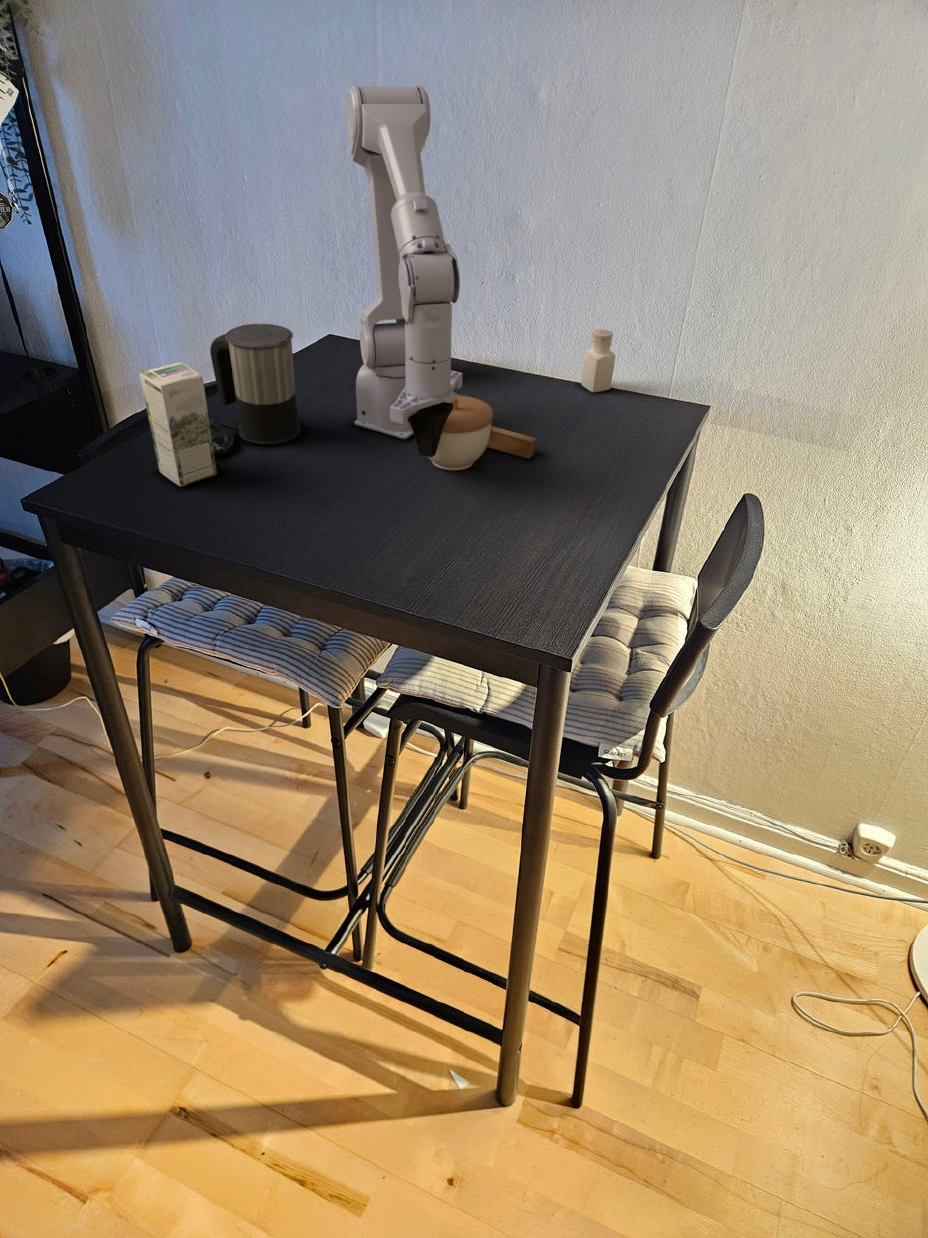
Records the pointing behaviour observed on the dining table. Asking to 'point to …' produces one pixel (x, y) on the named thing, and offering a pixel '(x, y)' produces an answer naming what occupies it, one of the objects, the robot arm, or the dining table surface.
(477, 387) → the dining table surface
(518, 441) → the rail
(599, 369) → the pepper shaker
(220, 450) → the milk frother
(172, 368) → the syrup box
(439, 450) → the trinket box
